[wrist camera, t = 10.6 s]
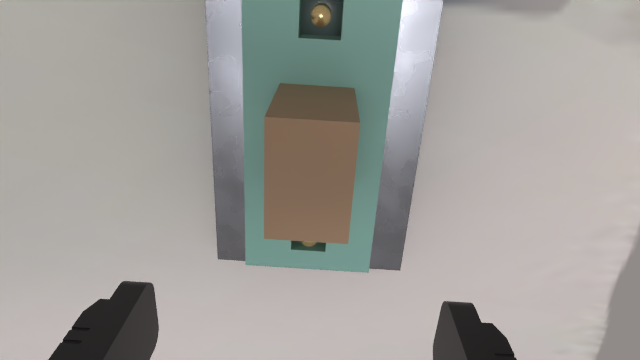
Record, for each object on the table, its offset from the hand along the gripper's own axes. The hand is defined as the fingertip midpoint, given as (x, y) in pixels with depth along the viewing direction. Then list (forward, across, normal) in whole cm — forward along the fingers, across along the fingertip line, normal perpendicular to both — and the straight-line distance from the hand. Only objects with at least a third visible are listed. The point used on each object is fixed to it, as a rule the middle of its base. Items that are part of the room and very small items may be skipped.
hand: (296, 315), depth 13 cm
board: (+16, 0, 0) cm, 16 cm away
